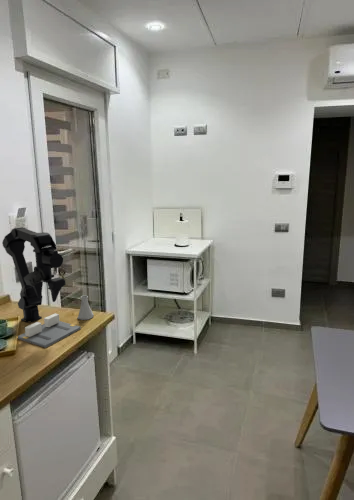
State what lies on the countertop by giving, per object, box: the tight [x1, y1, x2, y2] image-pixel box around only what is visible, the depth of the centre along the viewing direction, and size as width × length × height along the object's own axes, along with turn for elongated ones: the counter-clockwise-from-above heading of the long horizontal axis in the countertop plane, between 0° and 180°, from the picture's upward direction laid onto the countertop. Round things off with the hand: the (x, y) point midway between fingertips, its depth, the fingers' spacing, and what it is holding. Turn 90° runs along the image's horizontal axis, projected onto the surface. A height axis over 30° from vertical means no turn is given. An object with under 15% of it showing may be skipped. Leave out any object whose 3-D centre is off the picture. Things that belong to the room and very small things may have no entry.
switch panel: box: [17, 320, 82, 349], centre depth 149 cm, size 16×19×1 cm
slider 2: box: [43, 313, 61, 327], centre depth 155 cm, size 2×6×4 cm, turn 151°
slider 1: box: [24, 321, 42, 337], centre depth 146 cm, size 2×6×4 cm, turn 151°
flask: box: [77, 295, 94, 321], centre depth 165 cm, size 7×7×10 cm
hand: (46, 299), depth 152 cm, fingers open, 9 cm apart
